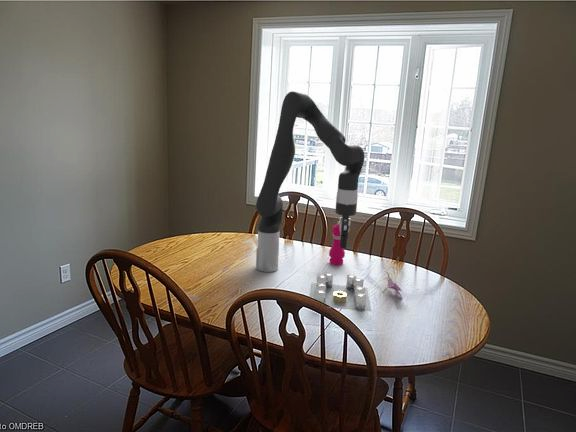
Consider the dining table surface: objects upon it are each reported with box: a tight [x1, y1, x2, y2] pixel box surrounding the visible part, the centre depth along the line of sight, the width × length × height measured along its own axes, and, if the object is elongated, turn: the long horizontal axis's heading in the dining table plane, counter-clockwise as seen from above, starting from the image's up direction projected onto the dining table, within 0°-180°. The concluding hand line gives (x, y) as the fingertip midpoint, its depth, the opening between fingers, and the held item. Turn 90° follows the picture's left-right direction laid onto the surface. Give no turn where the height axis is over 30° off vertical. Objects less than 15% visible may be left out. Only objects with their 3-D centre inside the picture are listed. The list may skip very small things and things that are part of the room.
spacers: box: [315, 272, 366, 312], centre depth 151 cm, size 18×21×5 cm
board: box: [305, 282, 372, 332], centre depth 146 cm, size 22×32×1 cm
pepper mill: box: [328, 220, 346, 266], centre depth 187 cm, size 7×7×20 cm
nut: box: [333, 291, 346, 303], centre depth 148 cm, size 5×5×2 cm
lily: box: [382, 268, 403, 298], centre depth 156 cm, size 12×12×10 cm
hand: (342, 246), depth 152 cm, fingers open, 2 cm apart
